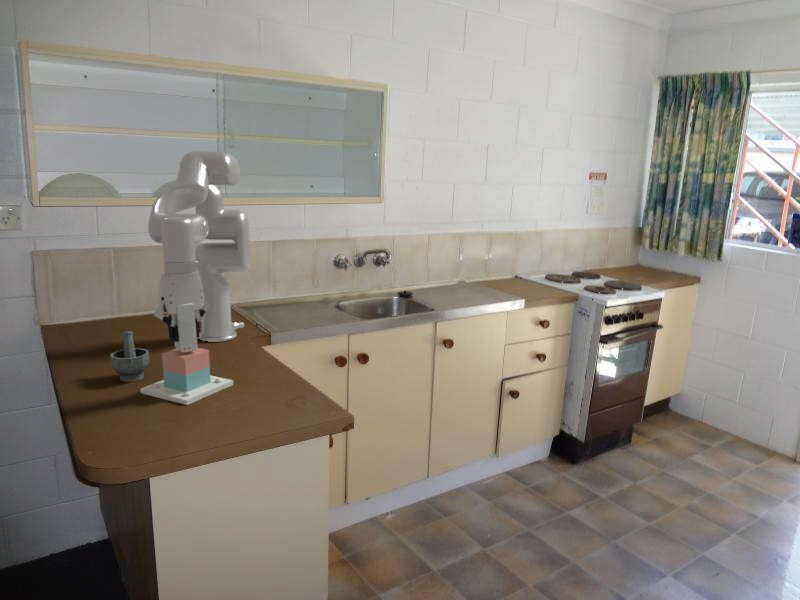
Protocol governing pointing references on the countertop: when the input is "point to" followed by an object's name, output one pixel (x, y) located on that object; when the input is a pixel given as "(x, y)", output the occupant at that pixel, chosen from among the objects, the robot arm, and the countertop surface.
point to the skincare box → (186, 328)
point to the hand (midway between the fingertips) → (184, 337)
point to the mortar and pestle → (130, 360)
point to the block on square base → (186, 377)
